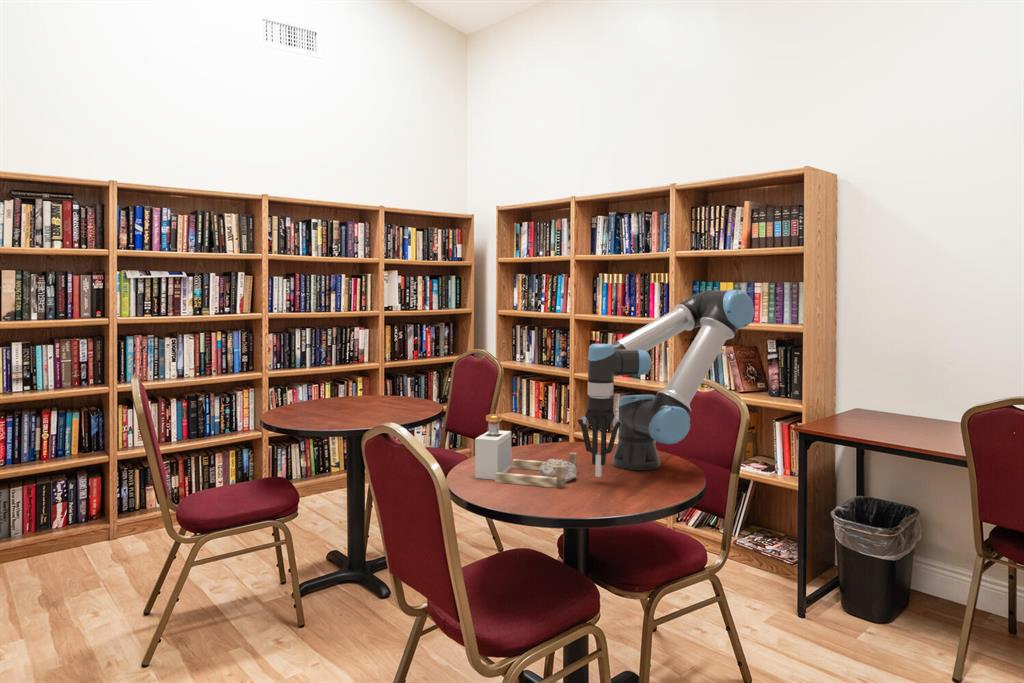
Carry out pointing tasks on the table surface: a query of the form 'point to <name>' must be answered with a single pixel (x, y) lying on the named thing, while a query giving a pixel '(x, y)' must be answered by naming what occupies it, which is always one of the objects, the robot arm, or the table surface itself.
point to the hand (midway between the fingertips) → (598, 475)
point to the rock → (551, 469)
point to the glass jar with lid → (493, 424)
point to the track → (533, 479)
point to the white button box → (492, 454)
